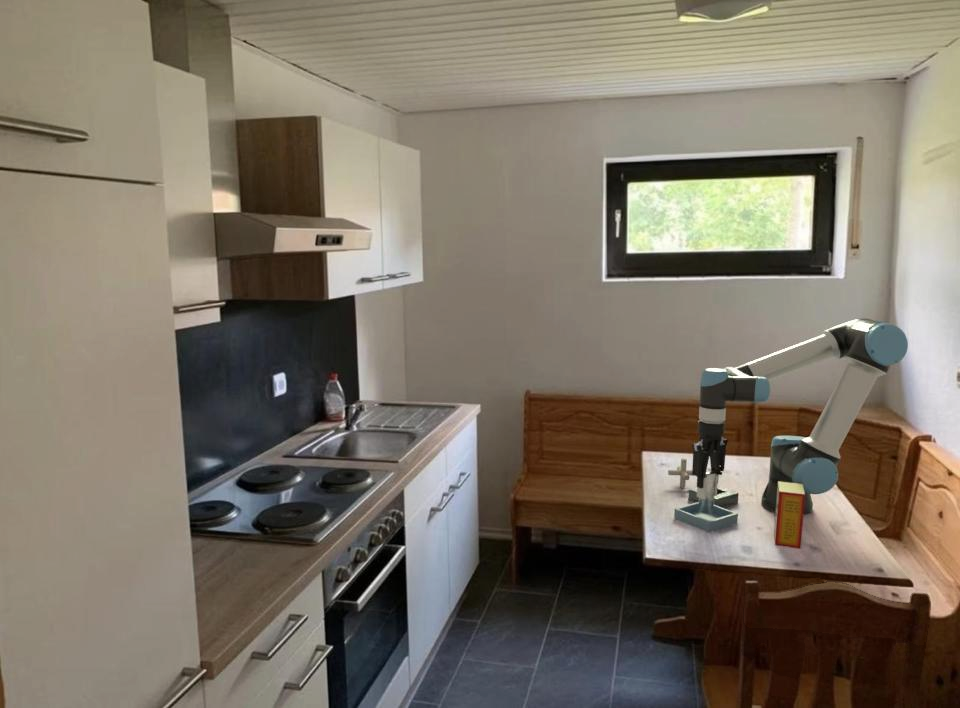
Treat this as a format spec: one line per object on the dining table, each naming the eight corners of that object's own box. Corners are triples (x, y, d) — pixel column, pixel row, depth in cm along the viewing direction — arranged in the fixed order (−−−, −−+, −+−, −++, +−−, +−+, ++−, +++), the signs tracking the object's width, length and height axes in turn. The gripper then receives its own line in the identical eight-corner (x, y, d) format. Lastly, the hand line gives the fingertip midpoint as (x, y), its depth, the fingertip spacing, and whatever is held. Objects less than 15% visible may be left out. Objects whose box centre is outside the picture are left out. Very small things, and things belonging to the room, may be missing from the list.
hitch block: (737, 503, 235) (738, 492, 234) (715, 509, 229) (716, 499, 228) (710, 493, 244) (710, 483, 243) (688, 499, 238) (688, 489, 237)
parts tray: (737, 523, 217) (738, 513, 217) (708, 532, 210) (709, 522, 210) (702, 510, 228) (702, 500, 227) (674, 518, 221) (674, 508, 220)
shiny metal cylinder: (716, 512, 218) (718, 473, 216) (706, 514, 216) (709, 476, 214) (704, 507, 222) (706, 469, 220) (694, 510, 219) (697, 472, 217)
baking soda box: (773, 532, 211) (778, 479, 208) (798, 535, 209) (802, 482, 206) (775, 545, 202) (779, 490, 200) (800, 548, 200) (805, 493, 197)
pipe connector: (701, 492, 245) (702, 463, 243) (671, 491, 245) (672, 463, 243) (693, 482, 255) (694, 454, 253) (664, 481, 255) (665, 454, 253)
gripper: (720, 414, 222) (715, 487, 226) (681, 421, 213) (677, 497, 216) (740, 419, 216) (735, 494, 220) (702, 427, 206) (697, 505, 210)
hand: (706, 496), depth 218 cm, fingers closed on shiny metal cylinder, 4 cm apart
